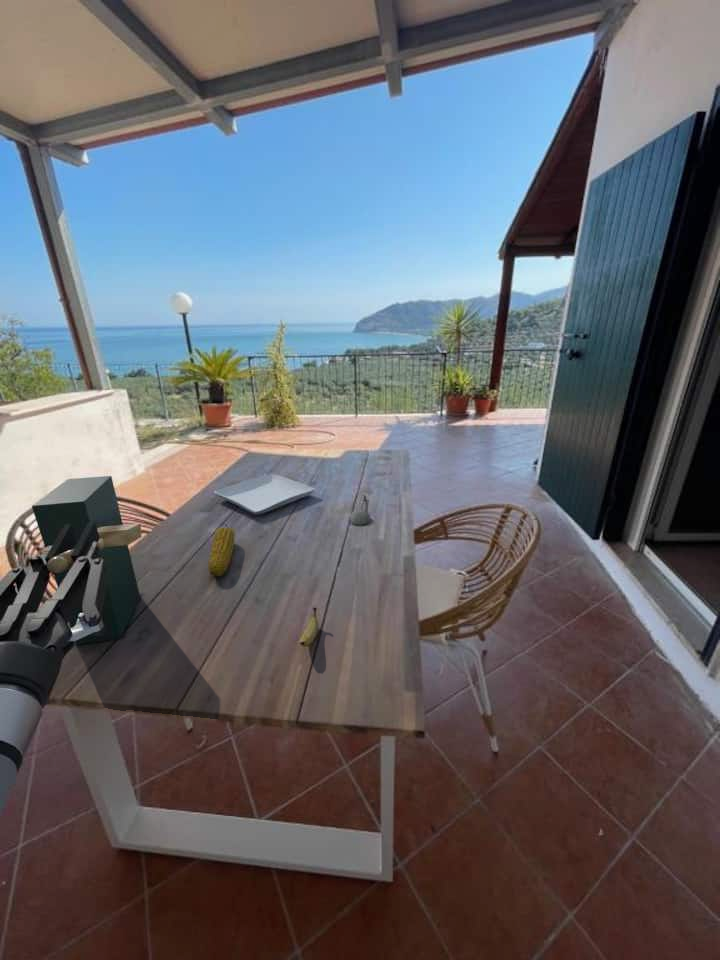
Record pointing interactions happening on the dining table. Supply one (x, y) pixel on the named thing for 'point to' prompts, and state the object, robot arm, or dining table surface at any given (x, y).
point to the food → (221, 551)
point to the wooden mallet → (99, 544)
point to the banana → (310, 631)
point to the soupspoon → (360, 515)
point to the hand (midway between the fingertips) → (82, 531)
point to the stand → (100, 505)
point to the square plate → (264, 493)
